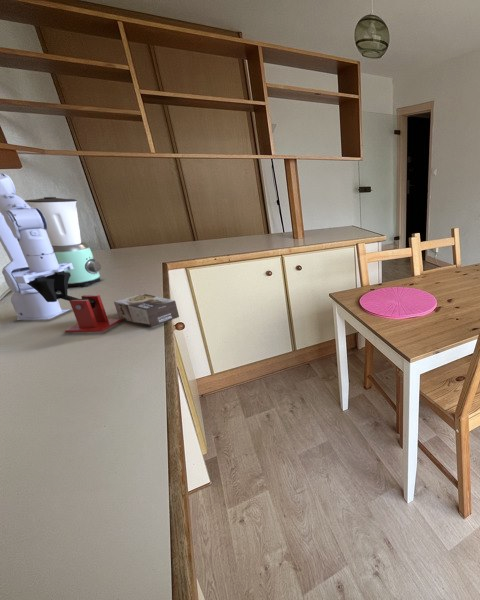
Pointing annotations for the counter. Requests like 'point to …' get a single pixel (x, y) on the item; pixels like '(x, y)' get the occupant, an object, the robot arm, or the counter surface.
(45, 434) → the counter surface
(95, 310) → the lever bracket
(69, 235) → the mint green blender
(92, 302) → the lever
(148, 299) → the coffee box
